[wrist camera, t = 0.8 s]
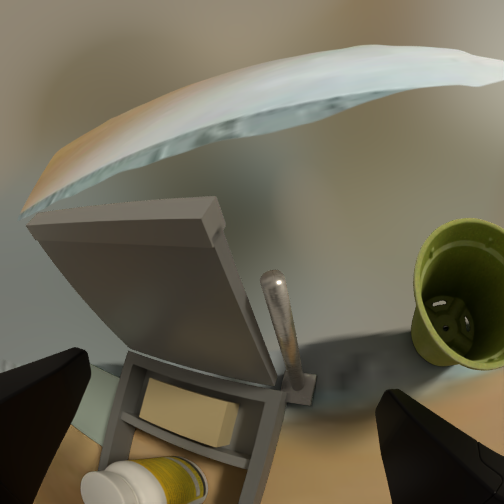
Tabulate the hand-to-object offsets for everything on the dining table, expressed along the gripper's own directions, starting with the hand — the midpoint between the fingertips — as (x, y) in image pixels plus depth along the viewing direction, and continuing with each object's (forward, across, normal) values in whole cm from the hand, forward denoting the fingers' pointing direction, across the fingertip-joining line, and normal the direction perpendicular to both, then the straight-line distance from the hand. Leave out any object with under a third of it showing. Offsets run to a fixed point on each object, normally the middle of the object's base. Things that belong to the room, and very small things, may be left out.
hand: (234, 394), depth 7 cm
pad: (+12, +14, +18) cm, 26 cm away
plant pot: (+11, -16, +3) cm, 20 cm away
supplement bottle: (+6, +3, +18) cm, 20 cm away
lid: (+8, +6, +3) cm, 10 cm away
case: (+8, +3, +16) cm, 18 cm away
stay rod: (+12, -5, +8) cm, 15 cm away
